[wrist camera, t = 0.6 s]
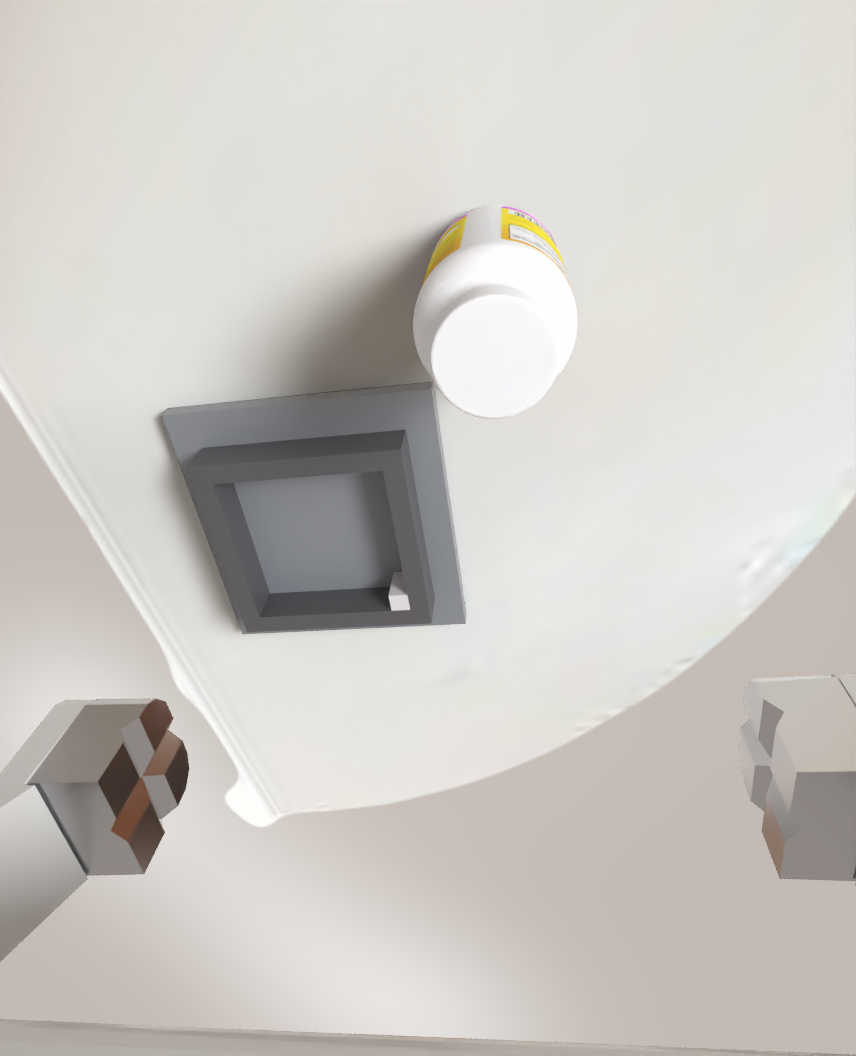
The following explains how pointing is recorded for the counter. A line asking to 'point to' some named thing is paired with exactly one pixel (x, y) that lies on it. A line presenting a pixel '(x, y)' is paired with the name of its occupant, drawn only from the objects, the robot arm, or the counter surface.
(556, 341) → the supplement bottle
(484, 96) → the counter surface
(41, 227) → the counter surface
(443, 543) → the pocket plate
